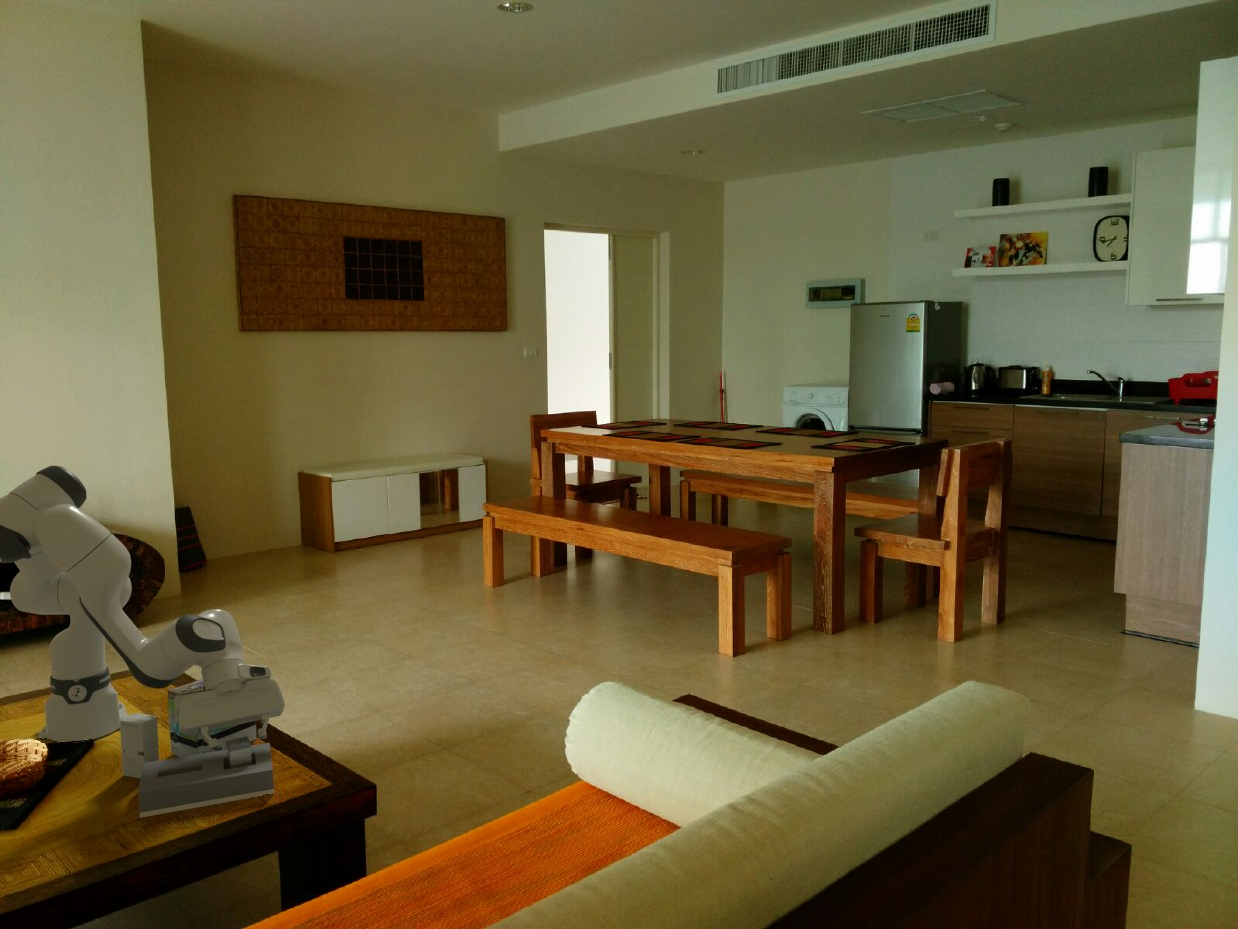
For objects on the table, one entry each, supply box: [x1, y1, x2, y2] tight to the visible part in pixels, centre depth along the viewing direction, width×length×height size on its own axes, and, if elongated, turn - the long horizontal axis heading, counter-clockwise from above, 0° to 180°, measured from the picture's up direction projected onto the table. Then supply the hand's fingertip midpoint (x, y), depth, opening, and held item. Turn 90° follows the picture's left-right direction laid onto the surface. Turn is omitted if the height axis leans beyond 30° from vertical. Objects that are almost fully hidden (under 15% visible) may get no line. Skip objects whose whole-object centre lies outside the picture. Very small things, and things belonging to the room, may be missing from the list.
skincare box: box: [120, 712, 160, 779], centre depth 203 cm, size 6×4×12 cm
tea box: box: [167, 678, 257, 757], centre depth 216 cm, size 15×10×15 cm, turn 148°
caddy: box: [137, 742, 275, 819], centre depth 196 cm, size 14×24×5 cm, turn 112°
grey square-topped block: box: [226, 736, 252, 769], centre depth 198 cm, size 4×4×8 cm
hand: (238, 743), depth 198 cm, fingers open, 8 cm apart
